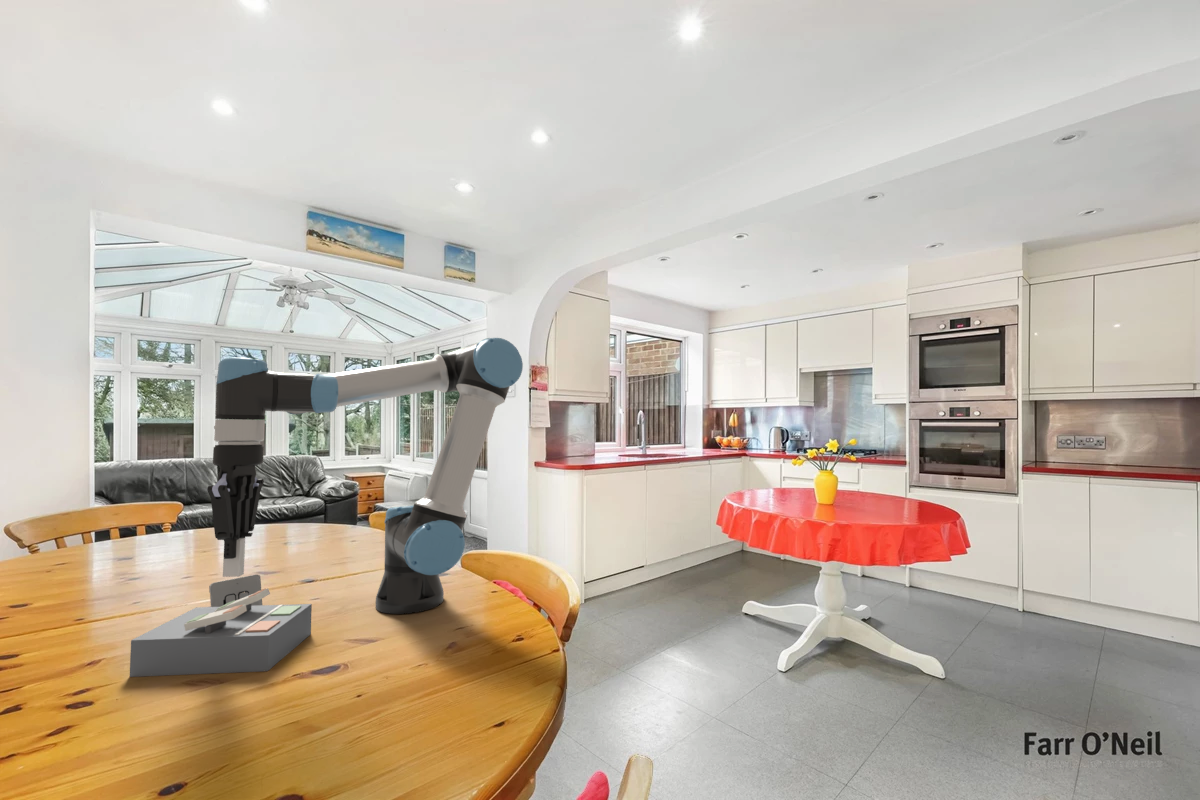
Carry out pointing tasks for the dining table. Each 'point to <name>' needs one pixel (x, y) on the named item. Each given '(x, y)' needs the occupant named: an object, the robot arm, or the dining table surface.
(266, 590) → the rocker
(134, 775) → the dining table surface
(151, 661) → the console
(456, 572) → the dining table surface
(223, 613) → the rocker
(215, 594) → the electrical switch
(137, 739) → the dining table surface
